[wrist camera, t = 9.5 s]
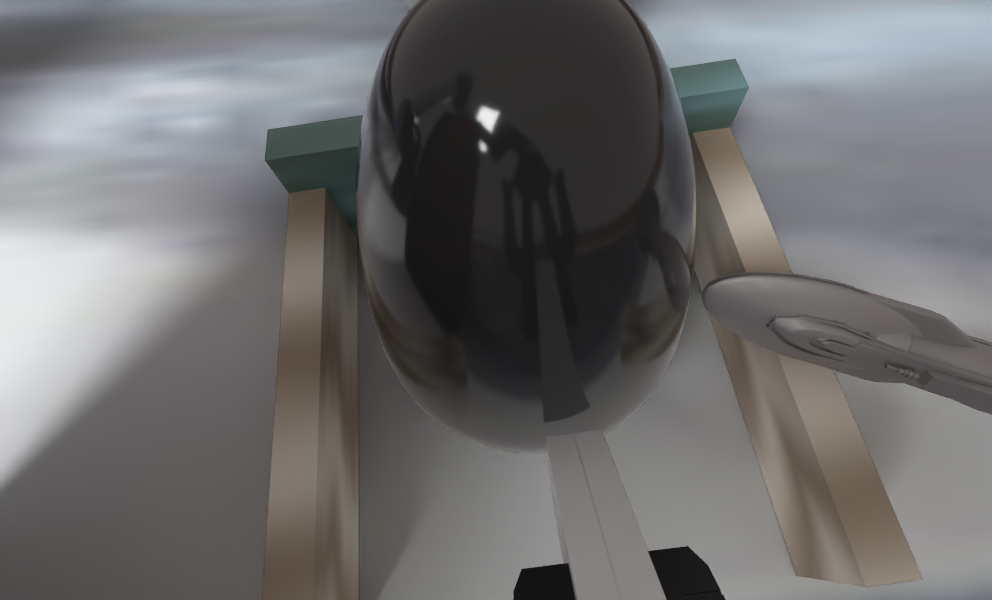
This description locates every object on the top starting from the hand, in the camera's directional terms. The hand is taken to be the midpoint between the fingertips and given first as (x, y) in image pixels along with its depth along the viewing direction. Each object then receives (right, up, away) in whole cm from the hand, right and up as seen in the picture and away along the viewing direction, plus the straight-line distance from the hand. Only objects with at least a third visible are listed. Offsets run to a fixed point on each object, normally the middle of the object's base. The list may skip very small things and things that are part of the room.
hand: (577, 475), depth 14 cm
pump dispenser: (-1, +3, +8) cm, 8 cm away
